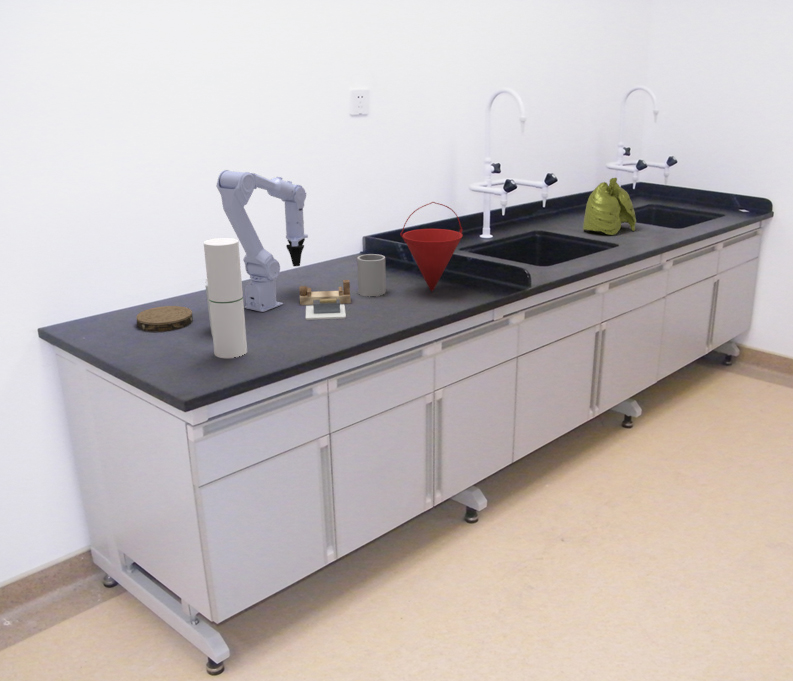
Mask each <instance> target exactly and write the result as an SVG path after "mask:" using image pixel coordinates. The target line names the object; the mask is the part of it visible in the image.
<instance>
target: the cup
mask: <svg viewBox="0 0 793 681" xmlns="http://www.w3.org/2000/svg"><path fill="white" fill-rule="evenodd" d="M356 258H357V260H356V261H357V293H358V295H359V294H360V295H359V296H363V297H367V296H369V297H370V296H376V297H381V296H384V295H385V294H386V291H387V289H386V285H387V284H386V256H385V255H382V254H378V253H377V254H374V253H368V254H362V255H361V254H360V255H358V256H357V257H356ZM383 294H384V295H383ZM380 295H381V296H380Z"/></svg>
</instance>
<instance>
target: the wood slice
mask: <svg viewBox="0 0 793 681" xmlns="http://www.w3.org/2000/svg"><path fill="white" fill-rule="evenodd" d="M193 317H194V316H193V311H192V309H190V308H189V307H186V306H178V305H166V306H165V305H164V306H157V307H151V308H148V309H145V310H142V311H140V312H138V314H137V315H136V326H137V328H138V327H139V330H141V329H142V330H141V331H144V330H145V332H152V333H155V332H156V333H163V332H171V331H176V330H181V329H184V328H187V327H188V326H191V324H192V323H193V322H194V320H193Z"/></svg>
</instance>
